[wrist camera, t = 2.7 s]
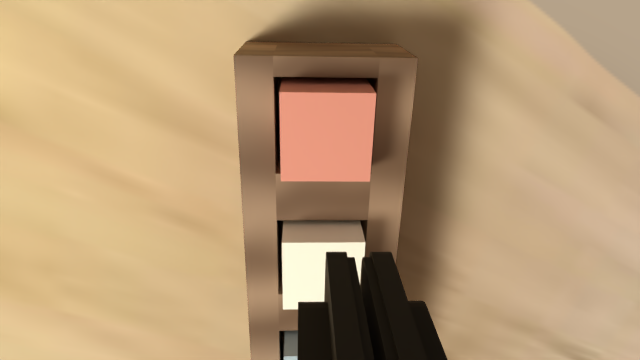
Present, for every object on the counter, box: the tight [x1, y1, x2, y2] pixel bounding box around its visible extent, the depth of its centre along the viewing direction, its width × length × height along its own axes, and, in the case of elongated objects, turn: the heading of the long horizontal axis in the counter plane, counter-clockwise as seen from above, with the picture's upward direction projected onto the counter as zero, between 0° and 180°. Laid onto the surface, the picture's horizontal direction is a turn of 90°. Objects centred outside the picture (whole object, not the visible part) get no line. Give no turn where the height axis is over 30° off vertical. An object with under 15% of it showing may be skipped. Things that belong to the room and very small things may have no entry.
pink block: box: [279, 77, 376, 182], centre depth 26 cm, size 5×5×4 cm
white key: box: [282, 220, 365, 310], centre depth 29 cm, size 5×5×4 cm
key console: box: [234, 42, 418, 360], centre depth 32 cm, size 26×10×6 cm, turn 179°
